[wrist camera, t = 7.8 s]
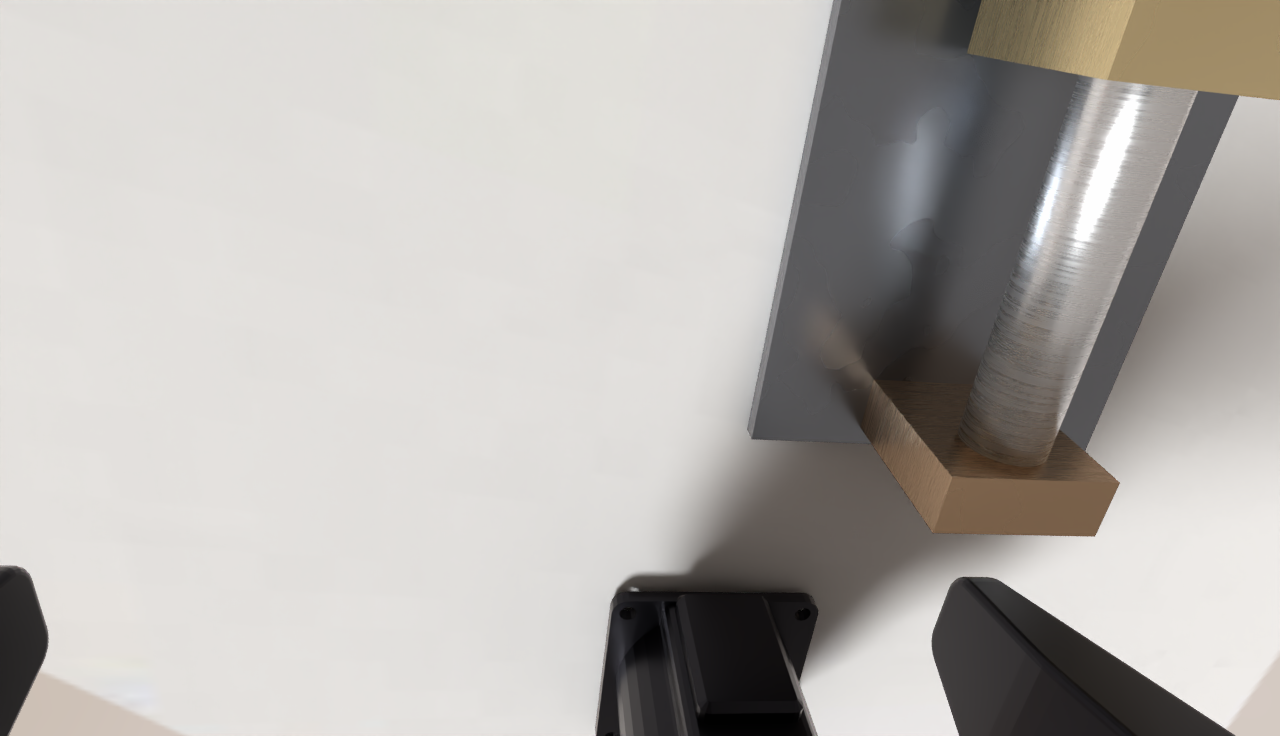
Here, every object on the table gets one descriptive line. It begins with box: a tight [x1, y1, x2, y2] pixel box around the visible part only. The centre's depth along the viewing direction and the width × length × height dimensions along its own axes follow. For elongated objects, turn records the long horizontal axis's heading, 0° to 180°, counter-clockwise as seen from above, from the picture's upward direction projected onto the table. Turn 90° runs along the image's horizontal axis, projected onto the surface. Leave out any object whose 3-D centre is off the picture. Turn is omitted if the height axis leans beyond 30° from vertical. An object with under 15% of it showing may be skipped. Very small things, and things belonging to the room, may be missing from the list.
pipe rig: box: [747, 0, 1239, 536], centre depth 15 cm, size 22×10×5 cm, turn 174°
